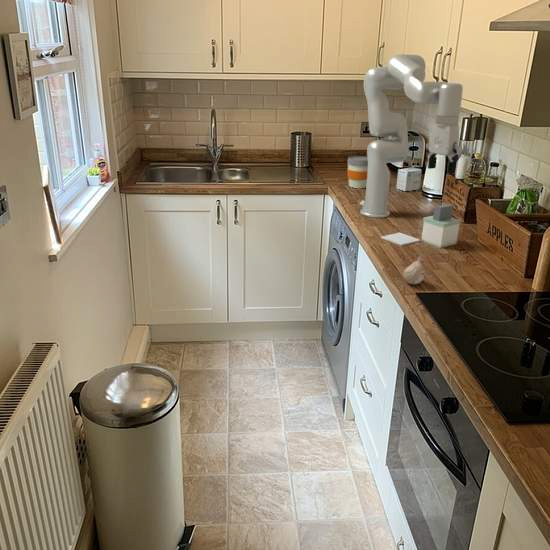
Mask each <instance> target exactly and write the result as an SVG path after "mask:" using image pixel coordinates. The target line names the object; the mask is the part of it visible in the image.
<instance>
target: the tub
mask: <svg viewBox="0 0 550 550" xmlns="http://www.w3.org/2000/svg"><path fill="white" fill-rule="evenodd" d="M459 228H460V224H456V225H452V226H447V227H441V226H438V225H435V224H432V223H429V222H426V221H423V226H422V233H421V239H420V242H422V243H425V244H428V245H430V246H434V247H436V248H439V249H442V248H446V247H451V246H454V245H457V242H458V236H459V235H458V234H459Z"/></svg>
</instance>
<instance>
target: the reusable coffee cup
mask: <svg viewBox="0 0 550 550" xmlns="http://www.w3.org/2000/svg"><path fill="white" fill-rule="evenodd" d="M346 163H347V168H346V169H347V173H346V174H347V178H348V187H349V186H350V187H354V188H365V187H366V185H367V173H368V158H367V156H363V155H362V156H361V155H353V156H348V158H347V162H346Z"/></svg>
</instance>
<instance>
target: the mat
mask: <svg viewBox="0 0 550 550" xmlns="http://www.w3.org/2000/svg"><path fill="white" fill-rule="evenodd" d="M380 239H383V240H384V241H387V242H390V243H393V244H395V245H397V246H406V245H409V244H414V243H418V242H421V239H419V238H417V237H413V236H411V235H409V234H405V233H402V232H396V233H391V234H387V235H384V236H383V235H382V236H380Z"/></svg>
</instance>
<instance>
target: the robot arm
mask: <svg viewBox="0 0 550 550" xmlns="http://www.w3.org/2000/svg"><path fill="white" fill-rule="evenodd" d="M426 67H427V65H426V61H425V59H424V58H423V57H422V56H421V55H419V54H403V53H402V54H396V55H394V56H392V57H391V58H390V59H389V60H388V62H387V66H376V67H372V68H369V69H368V71H366V73H365V75H364V78H363V91H364V94H365V98H366V102H367V103H366V104H367V118H368V129H369V133H370V135H371V136H373V137H379V138H380V137H391V139H376V140H373V141H371V142H370V143H369V144H368V145H367V148H366V149H367V150H366V157H367V158H368V173H367V185H366V189H365V197H364V198H365V199H364V200H361V201H360V202H359V206H361V207H362V208H361V209H360V211H359V212H360V214H361V215H363V216H365V217H370V218H386V217H389V216H390V214H391V211H389V210H388V209H387V208H388V201H389V200H388V199H389V197H388V196H389V190H390V189H389V188H390V182H391V181H390V180H391V179H390V178H391V171H390V169H389V167H388V165H387V164H389V163H401V162H404V161H405V160H406V159H407V157H408V155H409V136H408V134H409V133H408V132H409V131H408V122H407V119H406V118H405V115H403V114H402V113H400V112H390V110H389V109H390V108H389V105H390V104H389V100H388V97H387V96H386V94H385V93H384V92H383V90H403V91H404V94H405V96H406V97H407V98H408V99H410V101H412V102H414V103H416V104H418V105H437V108H436V117H435V123H434V124H433V126H432V129H431V133H430V137H429V138H430V139H429V141H428V142H427V143H426V144H425V148H426V153H427V157H428V164H427V168H428V169H430V170H431V169H436V166H437V160H438V159H437V155H439V156H447V157H448V159H449V161H448V162H447V169H446V173H447V174H455V173H456V168H457V162H459V159H461V157H462V155H463V153H464V149H463V147H461V146H460V145H459V144H460V143H459V141H460V127H459V119H460V112H461V106H462V98H463V89H464V88H463V85H462V84H461V83H456V82H455V83H454V82H447V81H424V80H425V79H426Z"/></svg>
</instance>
